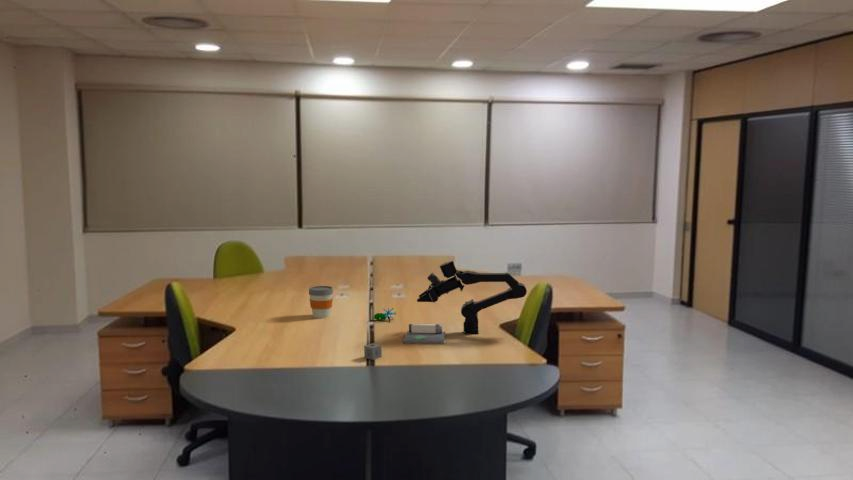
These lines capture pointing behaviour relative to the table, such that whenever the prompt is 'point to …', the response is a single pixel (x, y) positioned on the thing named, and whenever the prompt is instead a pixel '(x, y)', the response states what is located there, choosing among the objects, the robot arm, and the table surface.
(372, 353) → the dice cube
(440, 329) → the light grey rounded bar
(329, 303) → the reusable coffee cup
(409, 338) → the plate
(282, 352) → the table surface
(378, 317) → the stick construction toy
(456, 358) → the table surface
